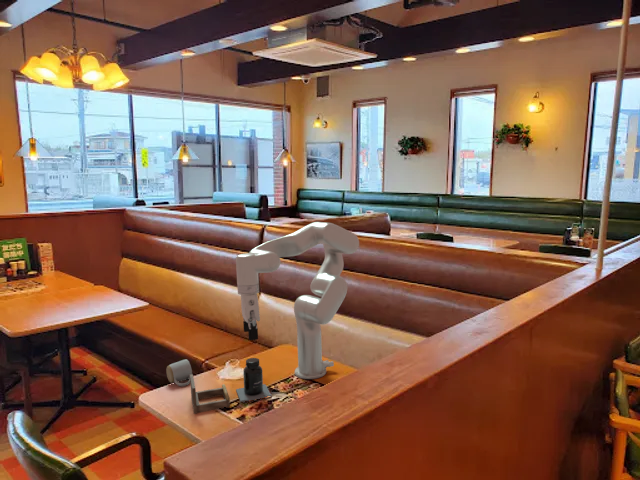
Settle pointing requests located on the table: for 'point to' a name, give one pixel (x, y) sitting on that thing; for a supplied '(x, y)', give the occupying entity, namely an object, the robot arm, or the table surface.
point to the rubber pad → (245, 397)
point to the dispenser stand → (207, 394)
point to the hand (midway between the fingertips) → (250, 335)
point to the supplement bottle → (253, 377)
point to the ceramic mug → (179, 372)
